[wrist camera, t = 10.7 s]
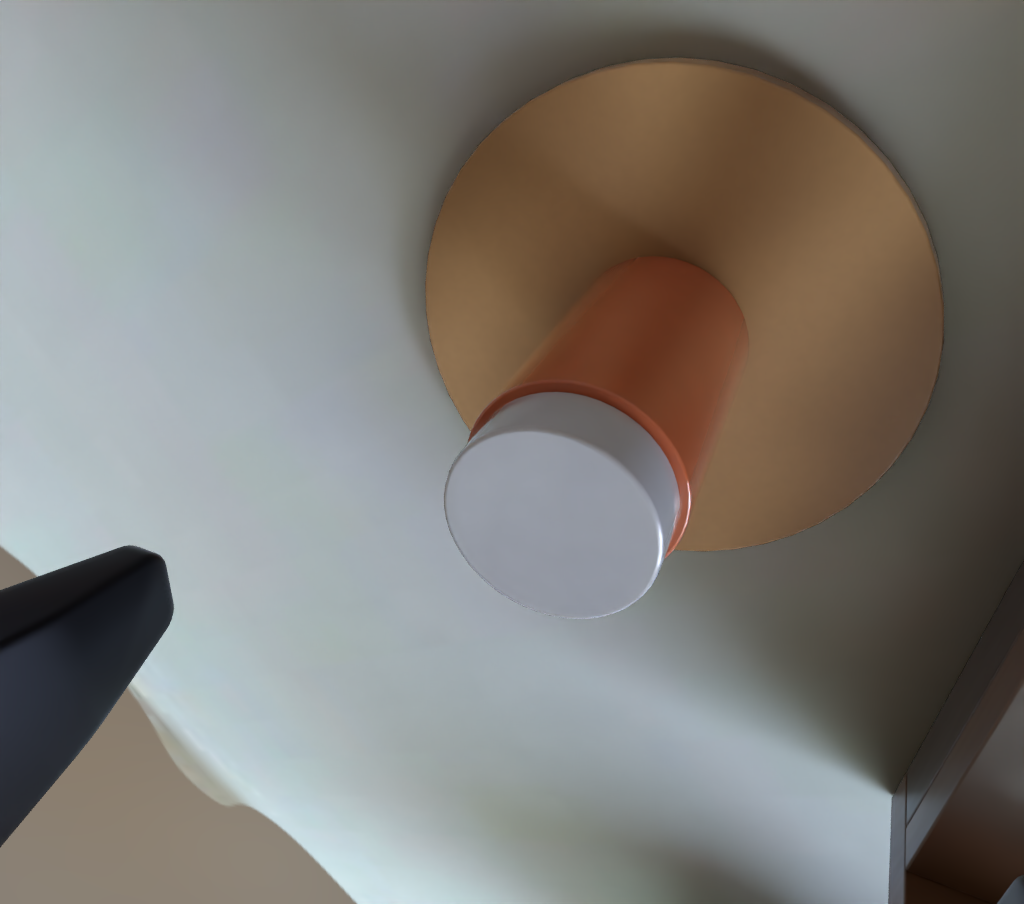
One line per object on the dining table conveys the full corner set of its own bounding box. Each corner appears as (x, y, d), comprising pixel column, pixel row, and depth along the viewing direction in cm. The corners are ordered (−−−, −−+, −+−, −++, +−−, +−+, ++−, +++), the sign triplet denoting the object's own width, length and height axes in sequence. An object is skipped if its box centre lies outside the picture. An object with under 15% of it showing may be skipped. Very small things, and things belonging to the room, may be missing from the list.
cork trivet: (1044, 112, 14) (1048, 119, 14) (845, 594, 21) (844, 610, 20) (444, 16, 17) (431, 20, 17) (428, 465, 24) (418, 477, 23)
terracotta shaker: (770, 278, 17) (698, 461, 11) (726, 440, 19) (648, 659, 14) (585, 237, 18) (437, 388, 12) (563, 395, 20) (429, 583, 15)
